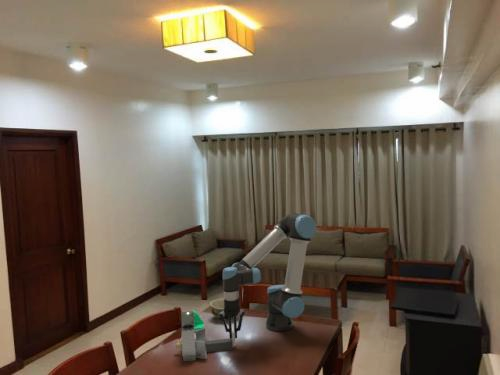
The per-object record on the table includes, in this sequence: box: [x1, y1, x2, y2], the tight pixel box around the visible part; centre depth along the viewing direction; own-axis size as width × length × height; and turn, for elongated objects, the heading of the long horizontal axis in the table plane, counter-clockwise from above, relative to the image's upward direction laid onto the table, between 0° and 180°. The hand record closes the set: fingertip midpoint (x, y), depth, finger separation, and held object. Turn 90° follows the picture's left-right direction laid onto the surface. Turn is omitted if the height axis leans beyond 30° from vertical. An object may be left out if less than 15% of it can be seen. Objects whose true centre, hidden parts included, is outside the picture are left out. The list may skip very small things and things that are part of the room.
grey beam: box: [175, 333, 234, 357], centre depth 211 cm, size 28×7×8 cm, turn 98°
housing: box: [180, 310, 208, 362], centre depth 210 cm, size 11×19×20 cm, turn 8°
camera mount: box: [192, 310, 205, 331], centre depth 238 cm, size 12×8×10 cm, turn 97°
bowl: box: [209, 297, 229, 320], centre depth 255 cm, size 18×18×10 cm
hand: (233, 344), depth 213 cm, fingers closed
